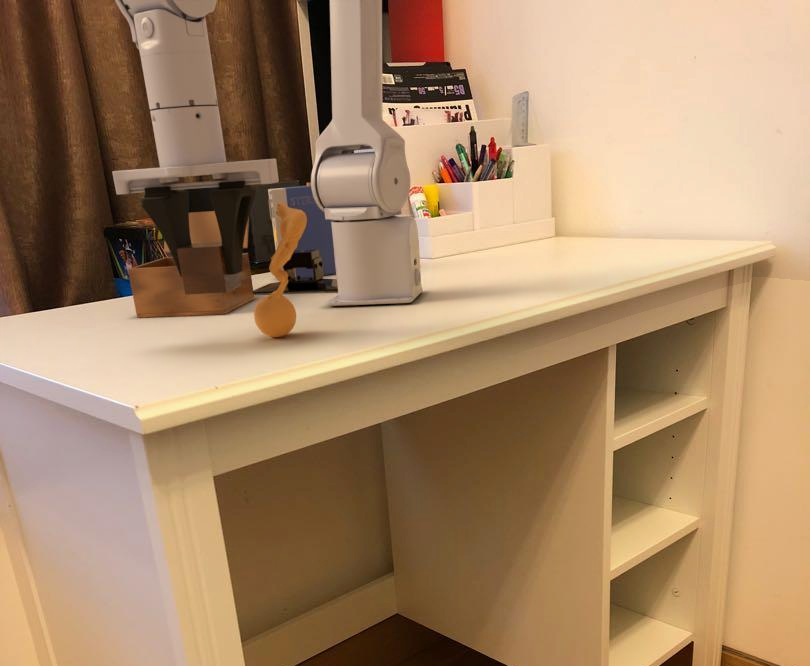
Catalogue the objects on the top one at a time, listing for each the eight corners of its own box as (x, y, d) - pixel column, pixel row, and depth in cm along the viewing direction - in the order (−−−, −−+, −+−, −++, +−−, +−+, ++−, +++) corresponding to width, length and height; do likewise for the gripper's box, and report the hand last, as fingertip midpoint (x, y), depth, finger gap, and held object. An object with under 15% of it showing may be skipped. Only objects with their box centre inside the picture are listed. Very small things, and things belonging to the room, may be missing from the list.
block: (241, 285, 82) (235, 240, 80) (226, 293, 78) (219, 246, 77) (201, 287, 83) (194, 243, 81) (184, 294, 79) (176, 248, 77)
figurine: (266, 329, 88) (249, 202, 83) (325, 325, 88) (311, 198, 83) (248, 347, 81) (228, 209, 76) (313, 343, 80) (297, 204, 75)
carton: (137, 317, 101) (127, 269, 98) (172, 302, 109) (164, 257, 107) (225, 314, 98) (217, 264, 96) (254, 298, 107) (248, 252, 105)
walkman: (330, 271, 125) (321, 181, 120) (336, 273, 123) (327, 181, 118) (277, 278, 123) (265, 186, 118) (281, 280, 120) (270, 187, 115)
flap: (165, 214, 107) (167, 215, 107) (163, 251, 107) (164, 252, 107) (248, 208, 105) (249, 209, 105) (246, 247, 105) (247, 248, 105)
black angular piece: (359, 283, 114) (356, 245, 112) (343, 293, 107) (339, 253, 105) (270, 285, 117) (266, 249, 115) (249, 295, 110) (244, 256, 108)
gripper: (82, 115, 72) (117, 284, 78) (249, 100, 69) (272, 277, 75) (122, 116, 78) (152, 272, 84) (276, 102, 76) (296, 265, 81)
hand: (210, 274), depth 80 cm, fingers closed on block, 4 cm apart
